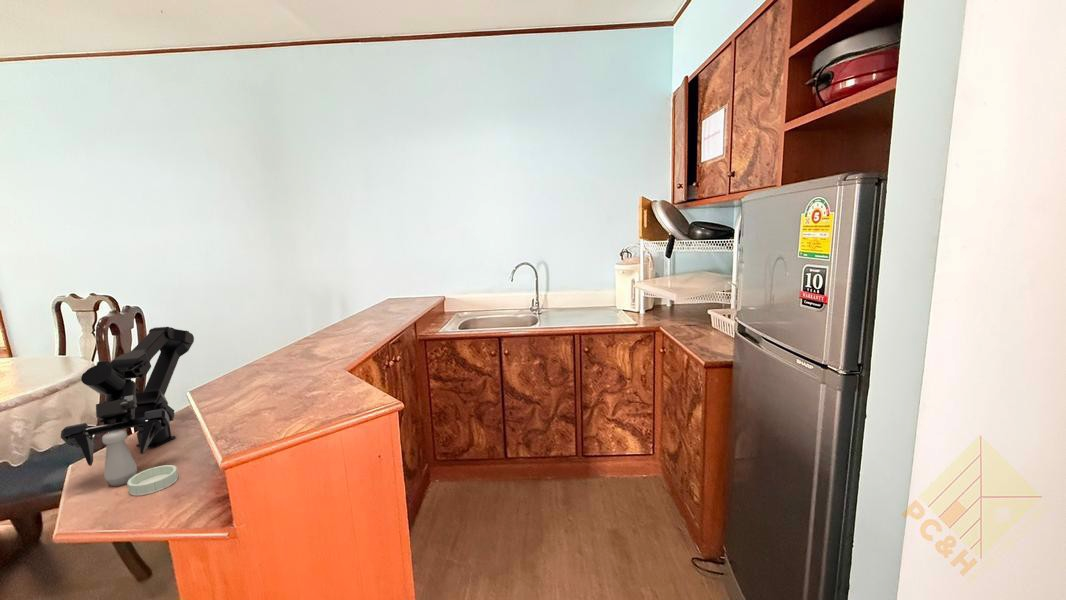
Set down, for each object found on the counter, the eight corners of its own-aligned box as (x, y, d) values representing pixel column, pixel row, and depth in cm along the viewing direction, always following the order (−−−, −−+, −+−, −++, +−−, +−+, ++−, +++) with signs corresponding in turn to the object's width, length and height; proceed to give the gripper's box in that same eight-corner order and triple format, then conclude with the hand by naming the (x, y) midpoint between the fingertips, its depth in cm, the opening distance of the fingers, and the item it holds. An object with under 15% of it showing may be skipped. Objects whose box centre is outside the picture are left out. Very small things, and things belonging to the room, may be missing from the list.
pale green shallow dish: (158, 473, 107) (156, 463, 106) (187, 475, 105) (185, 466, 105) (119, 493, 98) (117, 484, 98) (149, 497, 97) (148, 487, 96)
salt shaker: (118, 489, 100) (108, 438, 98) (99, 487, 101) (89, 436, 99) (145, 475, 106) (136, 427, 104) (127, 473, 107) (118, 425, 105)
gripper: (55, 395, 98) (45, 459, 90) (160, 378, 108) (159, 435, 101) (73, 415, 106) (66, 476, 98) (170, 398, 116) (169, 451, 108)
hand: (116, 458), depth 101 cm, fingers open, 9 cm apart
